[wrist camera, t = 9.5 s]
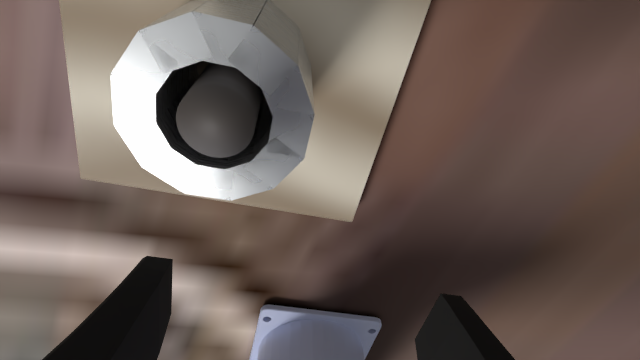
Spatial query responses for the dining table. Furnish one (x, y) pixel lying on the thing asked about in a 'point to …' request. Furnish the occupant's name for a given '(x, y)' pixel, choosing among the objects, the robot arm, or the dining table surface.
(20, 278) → the dining table surface
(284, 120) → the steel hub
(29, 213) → the dining table surface
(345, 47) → the post stand
